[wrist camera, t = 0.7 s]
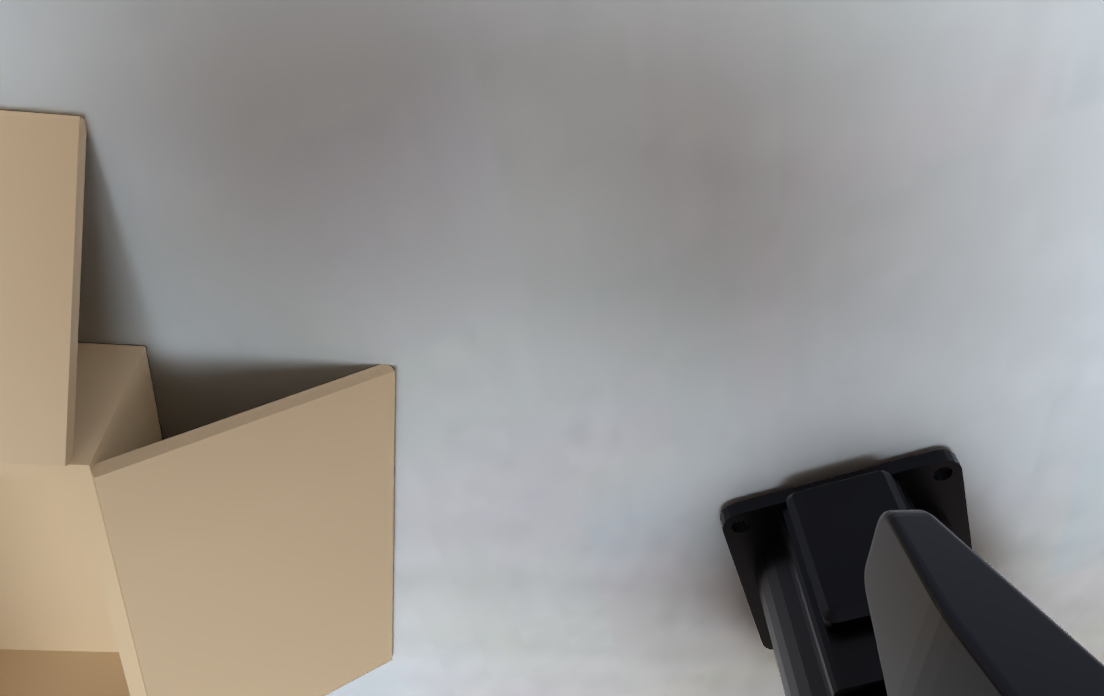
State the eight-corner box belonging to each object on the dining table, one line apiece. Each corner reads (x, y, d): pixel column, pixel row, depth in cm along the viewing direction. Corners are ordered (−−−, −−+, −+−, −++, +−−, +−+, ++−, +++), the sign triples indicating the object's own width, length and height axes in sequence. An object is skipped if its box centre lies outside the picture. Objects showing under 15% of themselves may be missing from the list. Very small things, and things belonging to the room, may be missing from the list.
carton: (398, 133, 20) (378, 242, 17) (391, 755, 35) (380, 882, 31) (-436, 68, 19) (-644, 173, 15) (-84, 747, 33) (-151, 880, 30)
